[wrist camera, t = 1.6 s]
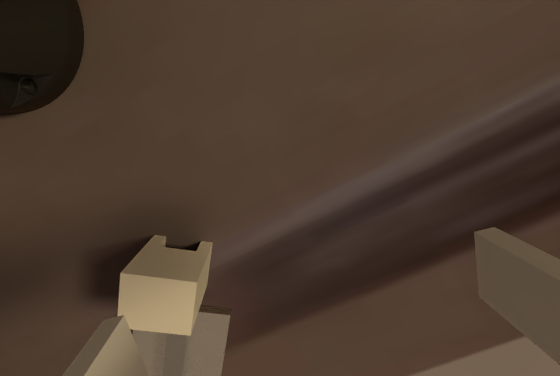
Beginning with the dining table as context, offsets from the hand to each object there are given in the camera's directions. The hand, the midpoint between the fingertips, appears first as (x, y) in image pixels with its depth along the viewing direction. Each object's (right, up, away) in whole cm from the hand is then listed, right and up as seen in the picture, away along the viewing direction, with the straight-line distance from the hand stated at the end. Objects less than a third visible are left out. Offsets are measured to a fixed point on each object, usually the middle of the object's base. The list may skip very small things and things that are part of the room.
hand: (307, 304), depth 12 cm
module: (-11, -3, +22) cm, 25 cm away
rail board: (-12, -15, +24) cm, 31 cm away
